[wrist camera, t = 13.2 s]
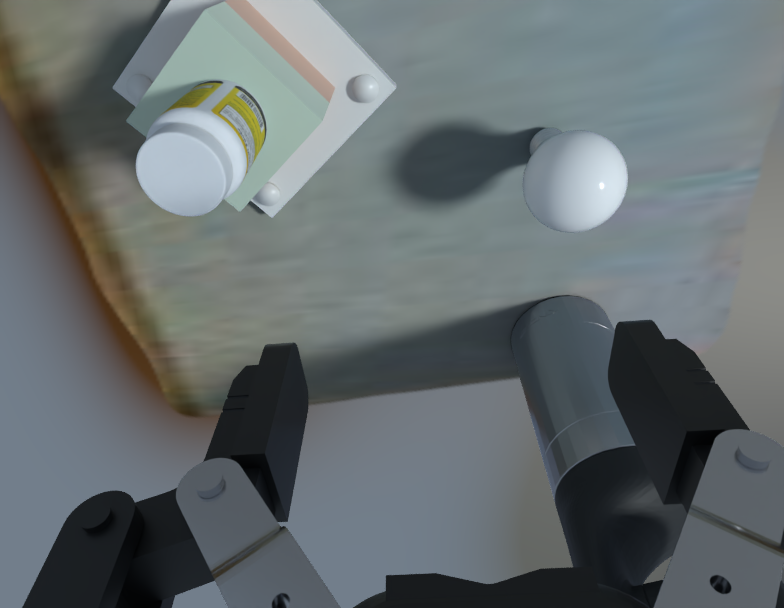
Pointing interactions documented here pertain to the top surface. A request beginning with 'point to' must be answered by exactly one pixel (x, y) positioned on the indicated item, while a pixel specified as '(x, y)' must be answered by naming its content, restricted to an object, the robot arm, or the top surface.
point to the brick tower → (262, 81)
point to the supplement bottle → (201, 148)
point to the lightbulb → (573, 179)
